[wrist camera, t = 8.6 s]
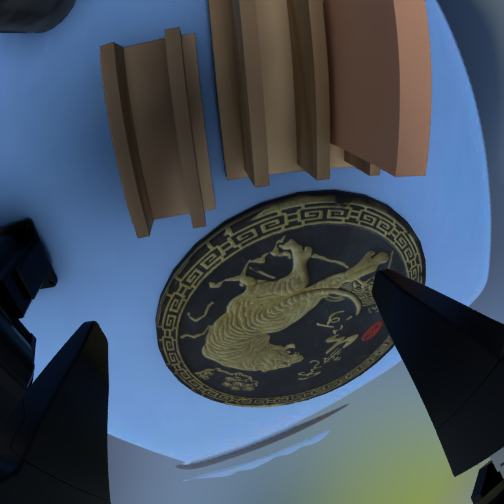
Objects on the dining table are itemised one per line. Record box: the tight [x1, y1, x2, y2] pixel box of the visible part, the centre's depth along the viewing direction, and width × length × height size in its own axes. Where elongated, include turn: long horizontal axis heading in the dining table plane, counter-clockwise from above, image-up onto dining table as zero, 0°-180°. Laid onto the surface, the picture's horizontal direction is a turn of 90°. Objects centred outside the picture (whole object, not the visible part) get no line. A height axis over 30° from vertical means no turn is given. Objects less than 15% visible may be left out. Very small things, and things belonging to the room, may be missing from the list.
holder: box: [100, 27, 216, 238], centre depth 15 cm, size 6×12×3 cm, turn 5°
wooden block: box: [322, 0, 432, 177], centre depth 12 cm, size 2×9×9 cm, turn 4°
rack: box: [208, 0, 380, 187], centre depth 14 cm, size 14×14×4 cm
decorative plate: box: [156, 190, 426, 407], centre depth 29 cm, size 30×2×30 cm
